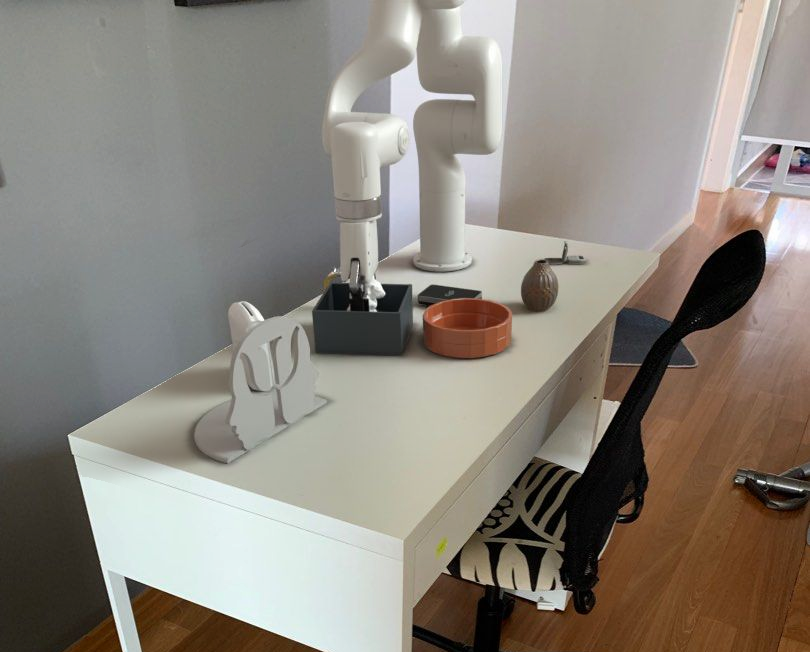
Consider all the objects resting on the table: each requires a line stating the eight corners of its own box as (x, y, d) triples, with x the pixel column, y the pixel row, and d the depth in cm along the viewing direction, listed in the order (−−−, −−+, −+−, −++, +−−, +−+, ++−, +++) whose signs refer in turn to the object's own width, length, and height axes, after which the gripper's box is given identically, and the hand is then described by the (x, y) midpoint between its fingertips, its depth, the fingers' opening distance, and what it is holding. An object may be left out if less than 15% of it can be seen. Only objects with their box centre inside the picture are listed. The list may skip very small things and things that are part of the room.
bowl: (429, 323, 156) (428, 297, 153) (512, 326, 154) (513, 299, 151) (418, 358, 144) (417, 329, 141) (508, 361, 142) (509, 332, 139)
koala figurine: (372, 348, 147) (367, 280, 139) (337, 343, 149) (331, 275, 142) (392, 329, 153) (389, 263, 146) (359, 324, 155) (354, 259, 148)
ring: (363, 307, 164) (360, 266, 159) (356, 313, 161) (353, 271, 157) (330, 303, 166) (327, 262, 161) (323, 309, 164) (319, 267, 159)
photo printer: (233, 370, 142) (222, 297, 135) (258, 364, 144) (248, 292, 136) (252, 394, 135) (241, 318, 127) (278, 388, 136) (269, 313, 129)
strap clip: (584, 259, 183) (585, 239, 181) (585, 264, 181) (587, 243, 178) (544, 260, 184) (545, 240, 181) (545, 264, 181) (546, 244, 179)
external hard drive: (469, 313, 160) (469, 303, 159) (415, 305, 164) (415, 295, 163) (482, 301, 165) (483, 291, 164) (430, 293, 169) (430, 284, 168)
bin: (333, 322, 158) (329, 282, 154) (413, 324, 156) (412, 284, 152) (315, 353, 147) (311, 310, 143) (401, 356, 145) (400, 313, 141)
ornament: (228, 464, 117) (208, 350, 107) (162, 439, 124) (137, 328, 114) (329, 402, 132) (319, 296, 122) (265, 382, 138) (251, 280, 128)
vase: (556, 301, 164) (559, 255, 158) (557, 314, 158) (561, 267, 153) (519, 301, 164) (522, 255, 159) (520, 314, 159) (522, 267, 154)
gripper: (346, 193, 146) (353, 295, 156) (324, 222, 132) (333, 332, 143) (389, 193, 145) (393, 296, 155) (371, 222, 131) (377, 333, 142)
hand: (364, 312), depth 149 cm, fingers closed on koala figurine, 6 cm apart
